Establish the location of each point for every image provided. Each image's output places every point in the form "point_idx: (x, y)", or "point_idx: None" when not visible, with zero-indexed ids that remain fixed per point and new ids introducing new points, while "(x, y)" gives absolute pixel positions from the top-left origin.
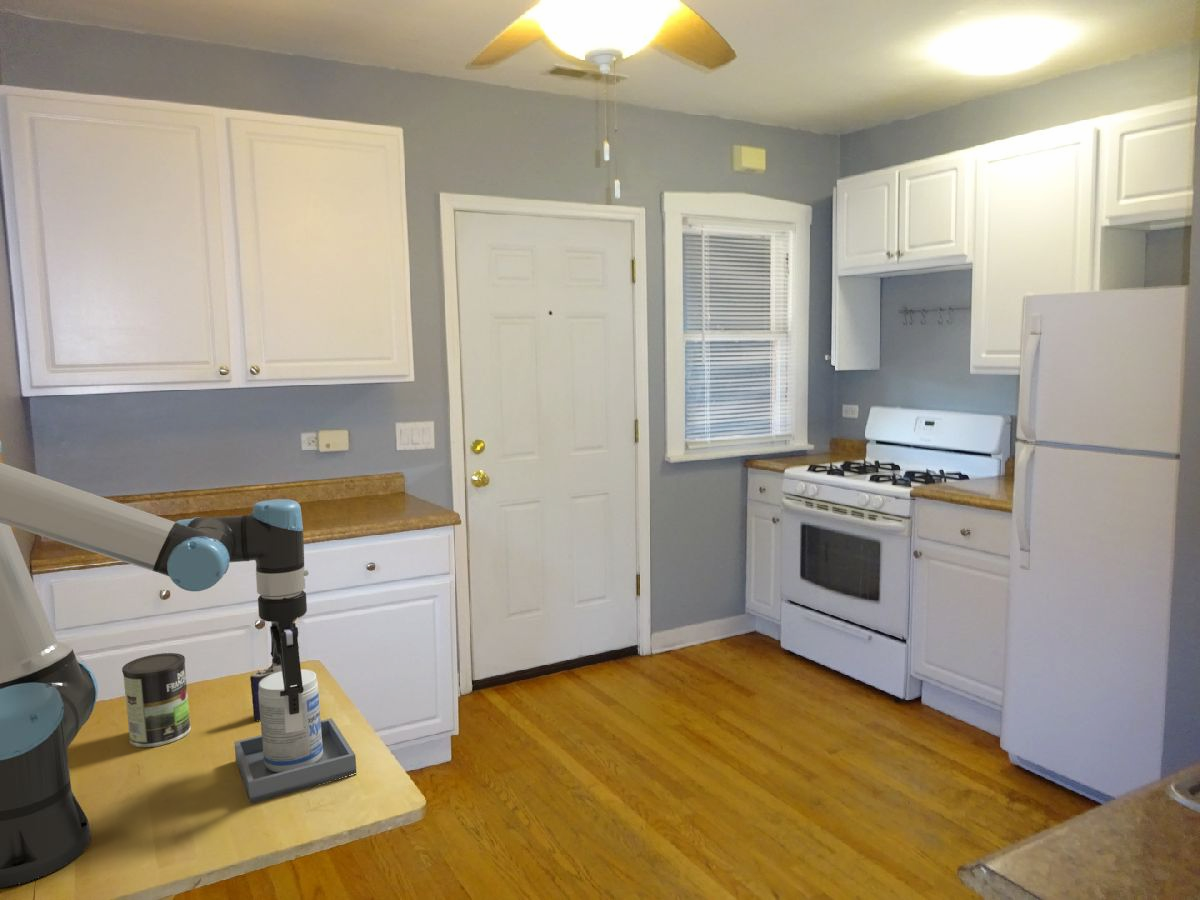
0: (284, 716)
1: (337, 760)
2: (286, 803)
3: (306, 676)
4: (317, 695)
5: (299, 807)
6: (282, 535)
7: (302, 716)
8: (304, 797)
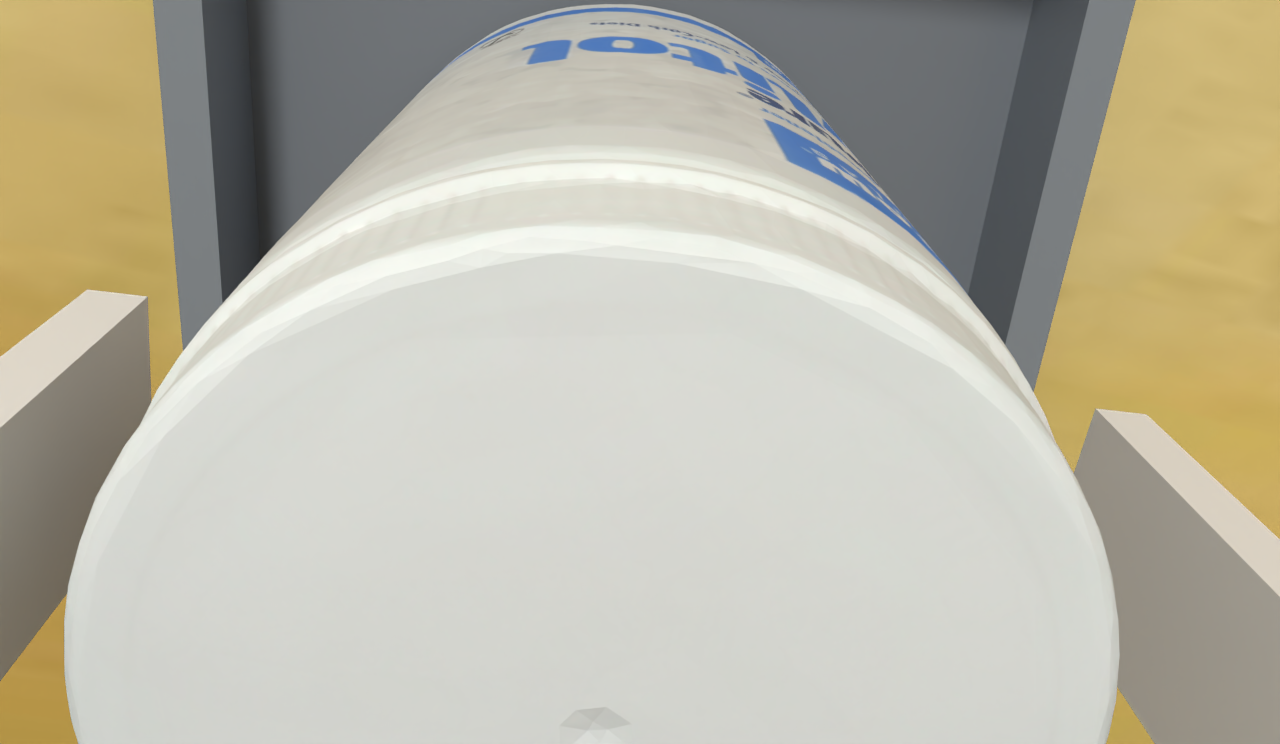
0: (1122, 686)
1: (1124, 15)
2: (1080, 396)
3: (727, 449)
4: (867, 195)
5: (1195, 345)
6: None
7: (1228, 497)
8: (1100, 285)
